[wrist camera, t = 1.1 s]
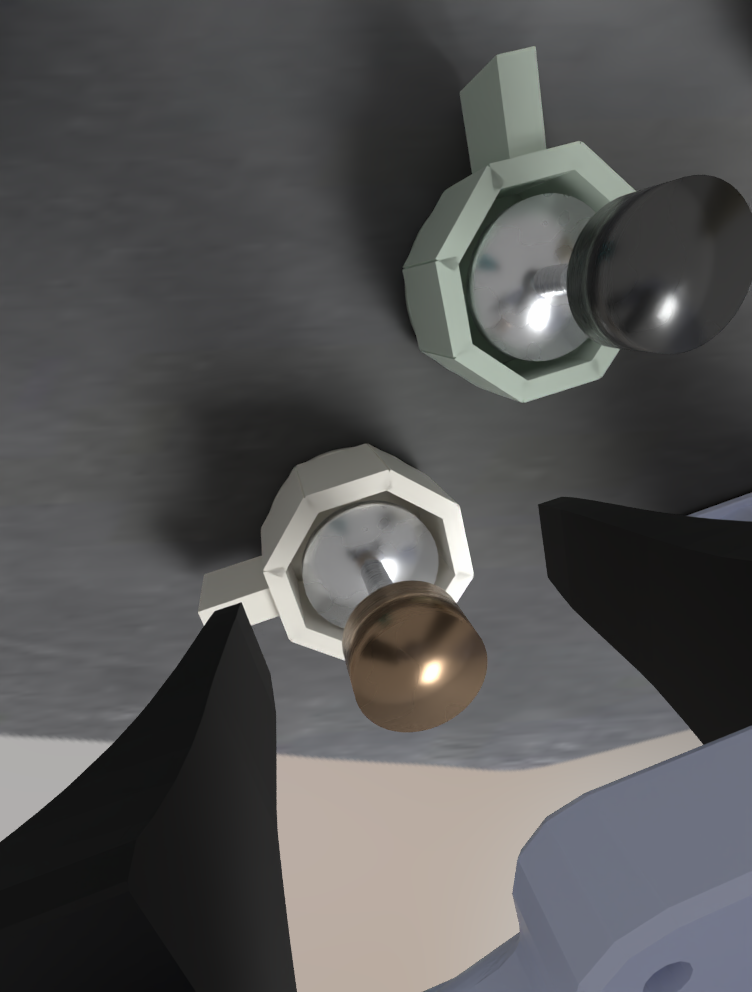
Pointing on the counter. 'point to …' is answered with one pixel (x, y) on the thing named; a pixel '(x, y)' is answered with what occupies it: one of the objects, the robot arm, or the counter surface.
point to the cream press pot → (299, 511)
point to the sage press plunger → (613, 270)
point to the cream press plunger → (393, 616)
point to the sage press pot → (468, 211)
